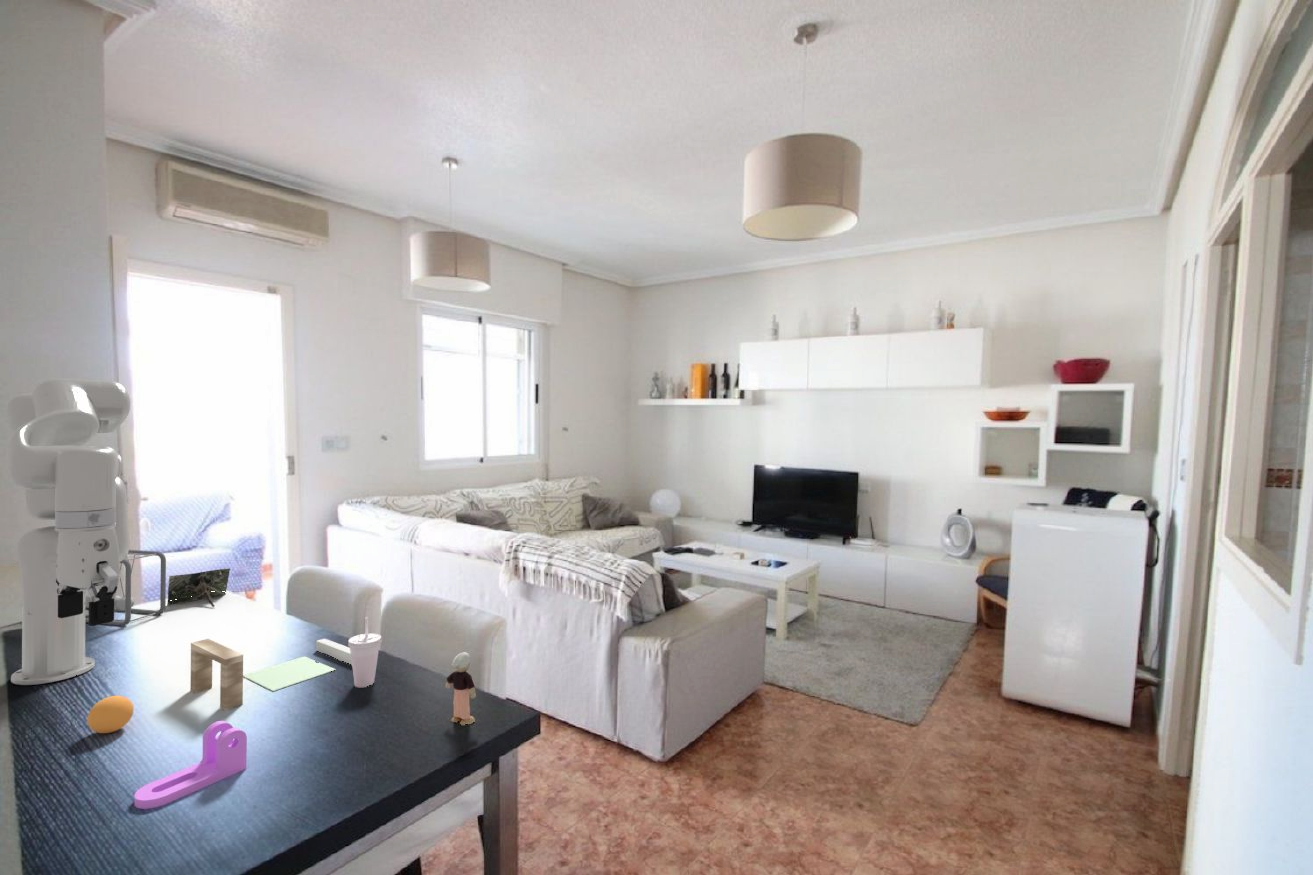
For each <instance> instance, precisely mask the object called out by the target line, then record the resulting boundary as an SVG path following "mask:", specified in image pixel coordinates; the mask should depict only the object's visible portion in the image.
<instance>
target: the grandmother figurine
mask: <svg viewBox="0 0 1313 875" xmlns="http://www.w3.org/2000/svg"><path fill="white" fill-rule="evenodd" d="M470 659H471V655H470V654H469V652H466V651H463V652H460V653H458V654H457V655H456V656H455V657H454V659H453V660H452V663H451V667H452V668H455V670H456V671H453V672H452V673H450V674H449V675H448V676H447V677H446V682H445V686H444V688H445V689H450V688H451V686H453V689H454V692H453V717H452V718H451V719H450V722H451V721H452V722H451V723H454V722H456V723H459V725H460V724H461V726H466V725H465V724H468V725H471V724H474V723H475V722H476V719H475V717H474V716H472V715H471V707H470V699H475V698H476V697H477V695H476V688H475V684H474V681H473V677H472V675H471V674H470V673H469V672H467V671H468V670H469V668H470V666H471V664H470V662H471V660H470ZM452 684H453V685H452ZM462 719H463V720H462ZM460 720H461V721H460ZM458 721H459V722H458ZM473 722H474V723H473Z"/></svg>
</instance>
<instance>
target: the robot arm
mask: <svg viewBox="0 0 1313 875" xmlns="http://www.w3.org/2000/svg"><path fill="white" fill-rule="evenodd" d="M130 410H131V398H130V394H129V392H128V391H127V389H126V387H125V386H124V385H122V384H121V383H119V382H117V381H112V380H104V379H103V380H102V379H86V378H85V379H84V378H69V377H67V378H64V377H63V378H59V377H58V378H50V379H46V380H44V381H42V382H40V383H38V384H37V385H36V386H35V387H34V388H33V390H32V392H30V393H29V392H28V393H21V394H17V395H15V396H13V397H10V399H9V400H8V401H7V404H6V410H5V411H6V419H7V423H8V426H9V430H10V431H11V436H10V437H9V439H8V441H7V444H6V451H5V453H6V465H7V472H8V473H7V474H8V476H9V479H10V481H11V482H12V484H13V485H15V486H16V487H18V488H20V489H24V495H25V507H26V511H27V513H28V515H29V516H30V517H31V518H33V519H36V520H41V521H51V520H54V525H48V526H42V527H37V528H34V529H31V530H28V531H26V532H24V533H22V534H21V535H20V536H19V538H18V539H17V542H16V544H15V546H16V547H15V549H16V550H15V551H16V557H17V562H18V566H19V573H20V578H21V579H20V581H21V594H22V595H21V597H22V599H21V601H22V602H21V605H22V606H21V608H22V609H21V612H22V613H21V614H22V615H21V617H22V618H21V619H22V621H21V622H22V623H21V624H22V625H21V627H22V628H21V668H20V669H18V670H16V671H15V672H13V673H12V674H11V675H10V676H11V677H10V682H11V683H12V684H14V685H19V686H32V685H33V686H34V685H35V686H36V685H44V684H48V683H49V684H50V683H54V682H59V681H63V680H68V679H71V678H73V677H74V678H75V677H77V676H79V675H83V674H85V673H87V672H88V671H90V670H92V669H93V668H94V667H95V664H96V660H95V659H94V658H92V657H90V656H89V657H87V656H86V622H85V618H86V613H87V612H86V610H87V609H86V595H87V594H86V590H87V592H88V594H89V595H90V597H91V599H92V602H89V609H88V618H89V623H88V626H89V627H90V626H91V627H96V626H99V625H105V624H104V623H109V622H112V621H113V620H114V621H115V611H114V598H115V597H116V595H117V591H118V585H117V583H118V584H119V582H120V578H121V570H120V566H121V563H119V562H120V561H122V560H124V559H125V558H126V557H128V556H129V554H128V552H129V550H130V529H129V525H130V524H129V510H128V508H129V507H128V497H127V488H126V485H125V483H124V481H123V480H122V479H121V477H120V476H121V474H122V468H123V463H122V456H121V455H120V454H119V453H118V452H117V451H116V450H115V448H112V447H110V446H107V445H84V444H86V443H88V442H89V441H91V440H93V438H95V437H96V435H97V434H106V433H113V432H114V431H116V430H118V429H119V428H120V426H121V425H122V424H123V423H124V422H125V420H126V419H127V418H128V416H129V413H130ZM99 588H100V590H99ZM97 590H98V591H97ZM115 592H116V594H115ZM76 675H77V676H76Z"/></svg>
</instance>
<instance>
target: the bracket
mask: <svg viewBox="0 0 1313 875" xmlns="http://www.w3.org/2000/svg"><path fill="white" fill-rule="evenodd" d="M219 733H220V734H219ZM217 734H219V735H218V736H217ZM216 736H217V737H216ZM247 737H248V736H247V734H246V732H245V731H243V730H241V729H239V728H238V727H233V724H230V723H228V722H227V721H225V720H219V721H218V720H217V721H215V722H213V723H211V724H210V725H209V726H208V727H207V728H206V729H205V730H204V732H203V735H202V759H201V761H200V762H198V763H195V764H193V765H191V766H187V767H185V768H183V769H181V770H179V771H176V772H174V773H171V774H168V775H166V776H164V777H162V778H158V779H157V780H154V781H151V782H149V783H147V784H145V785H143V786H141V787H140V788H139V789H138V790H136V792H135V793H134V807H136V808H137V809H140V810H141V809H142V810H143V809H144V810H147V809H154V808H159V807H161V806H165V805H167V804H169V803H172V802H174V801H176V800H179V799H181V798H183V797H185V796H187V795H190V794H192V793H194V792H196V791H199V790H201V789H204V788H206V787H208V786H210V785H213V784H214V783H217V782H220V781H221V780H223V779H227V778H229V777H231V776H233V775H235V774H238V773H240V772H242V771H245V770H247V757H248V756H247V753H248V752H247V750H248V749H247V748H248V746H247V743H248V742H247V741H248V738H247Z"/></svg>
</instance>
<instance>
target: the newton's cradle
mask: <svg viewBox="0 0 1313 875" xmlns="http://www.w3.org/2000/svg"><path fill="white" fill-rule="evenodd" d="M131 555H132V556H133V557H132V558H125V559H124V560H122V561H120V562H119V564H120V571H121V570H122V564H123V565H124V566H125V567H124V568H125V578H124V580H125V581H124V582H125V584H124V585H125V587H124V589H125V590H123V584H122V579H121V577H120V580H119V582H120V587H121V590H122V596H120V595H117V591H116V592H115V594H116V597H115V598H114V612H122V613H124V620H123V621H122V620H115V619H114V620H113V621H112V622H109V623H104V624H103V625H110V626H119V627H121V626H122V627H123V626H126V625H128V624H129V623H131V622H134V621H138V620H141V619H144V618H147V617H151V616H154V615H155V616H159V615H162V614H163V613H164V612H165V610H166V606H167V605H166V599H167V598H166V591H167V588H166V586H167V584H166V583H167V579H166V578H167V573H166V572H167V558H166V556H165V554H164V553H163V552H162V551H155V550H153V551H151V550H140V549H139V550H138V549H129V552H128V557H130V556H131ZM153 556H157V557H159V560H160V595H159V596H160V598H159V599H160V602H159V603H160V604H159V605H160V608H159V610H155V609H154V610H153V609H142V608H133V606H134V605H135V600H134V598H133V597H132V571H133V569H134V562H135V560H137V559H142V558H143V559H144V558H147V557H153ZM130 561H132V565H131V563H130ZM119 582H118V583H117V585H116V586H118V584H119ZM100 589H101V588H99V589H98V591H99V590H100ZM124 591H125V593H124ZM89 602H92V599H91V597H90V595H89V593H88V594H86V610H87V609H88V610H89ZM132 614H143V616H139V617H137V618H133V619H131V618H132ZM85 623H88V624H89V617H85Z"/></svg>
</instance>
